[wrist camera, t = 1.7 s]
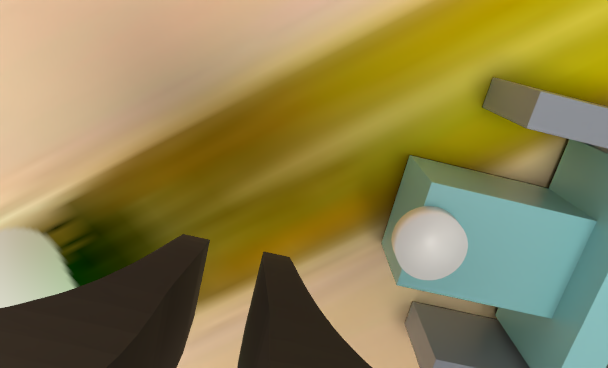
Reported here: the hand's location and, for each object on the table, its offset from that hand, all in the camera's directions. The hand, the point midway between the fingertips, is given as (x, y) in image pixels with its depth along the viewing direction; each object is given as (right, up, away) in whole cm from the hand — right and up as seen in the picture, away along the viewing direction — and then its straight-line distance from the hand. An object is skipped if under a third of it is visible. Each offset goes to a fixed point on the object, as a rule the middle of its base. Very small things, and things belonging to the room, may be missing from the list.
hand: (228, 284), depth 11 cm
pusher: (+9, +1, +10) cm, 13 cm away
